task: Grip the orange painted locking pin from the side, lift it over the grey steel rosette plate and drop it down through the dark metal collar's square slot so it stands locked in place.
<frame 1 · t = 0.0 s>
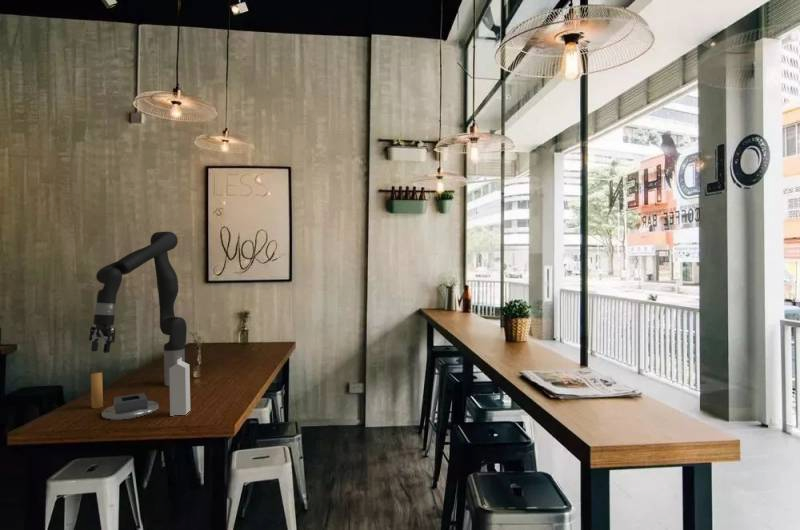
hand: (100, 352, 203), 22 cm above the table, tool pointing down, fingers open, 8 cm apart
rosette: (130, 411, 192), on the table
milk: (180, 414, 189), on the table
locking pin: (97, 407, 199), on the table
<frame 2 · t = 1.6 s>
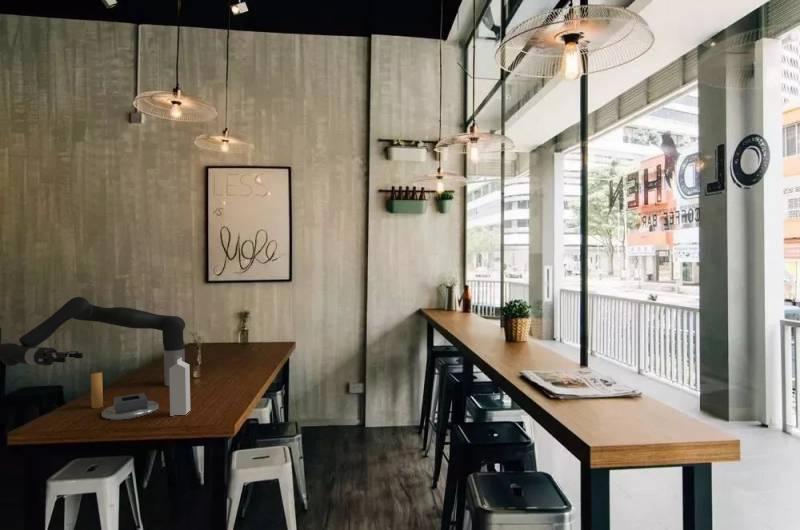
hand: (73, 357, 201), 20 cm above the table, tool horizontal, fingers open, 8 cm apart
nothing on the table moved.
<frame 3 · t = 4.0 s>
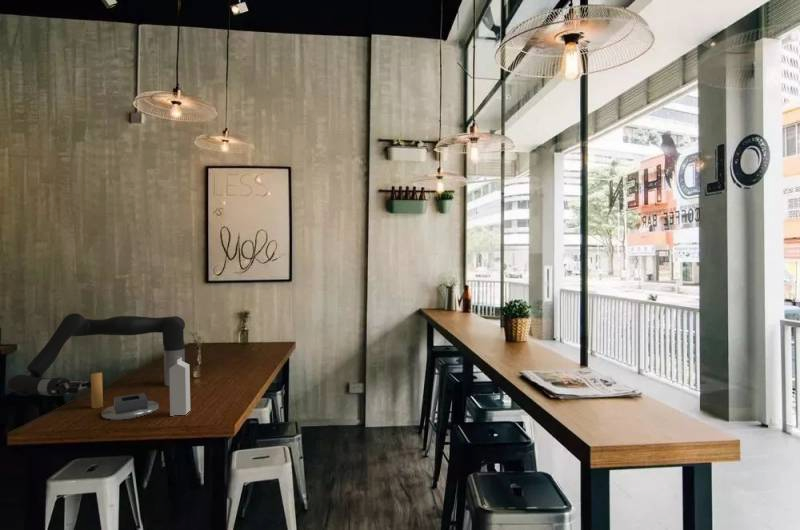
hand: (86, 387, 200), 8 cm above the table, tool horizontal, fingers open, 8 cm apart
nothing on the table moved.
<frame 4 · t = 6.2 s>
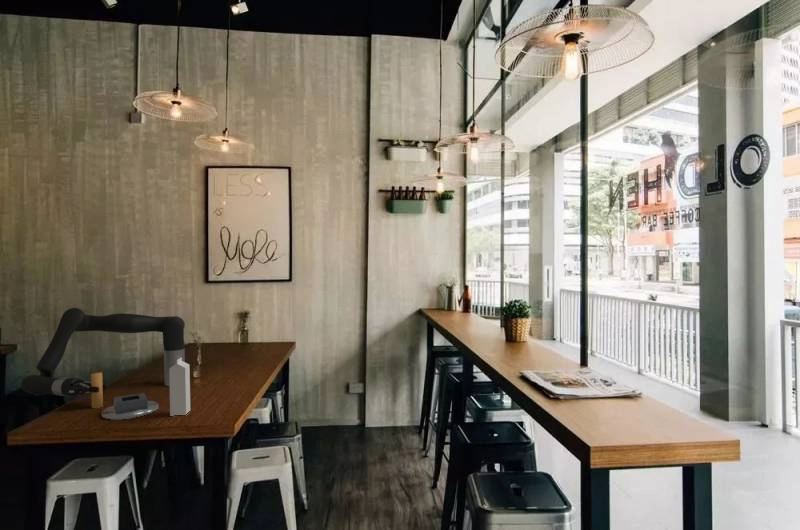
hand: (102, 388, 199), 8 cm above the table, tool horizontal, fingers closed on locking pin, 4 cm apart
locking pin: (97, 407, 199), on the table, touching gripper
everything else where it was.
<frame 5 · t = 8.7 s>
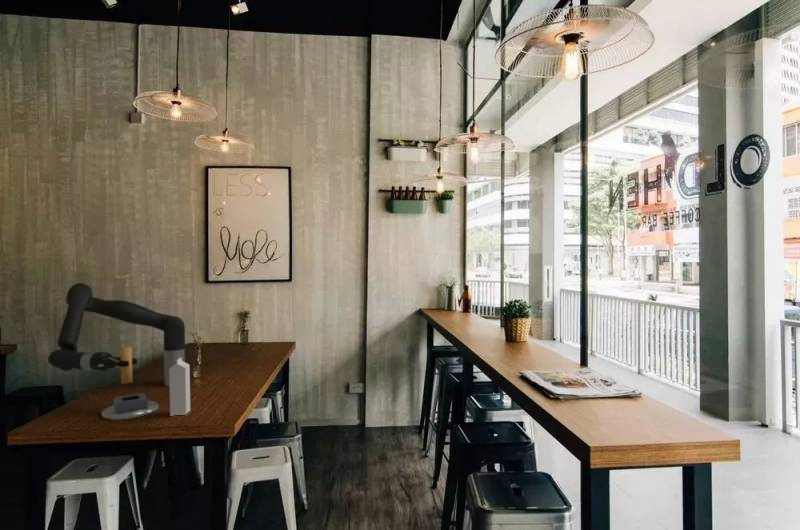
hand: (132, 362, 192), 20 cm above the table, tool horizontal, fingers closed on locking pin, 4 cm apart
locking pin: (126, 382, 192), point 12 cm above the table, touching gripper
everything else where it was.
when the fingers open (11 cm above the table, at t = 11.4 s): locking pin drops 1 cm, resting on rosette.
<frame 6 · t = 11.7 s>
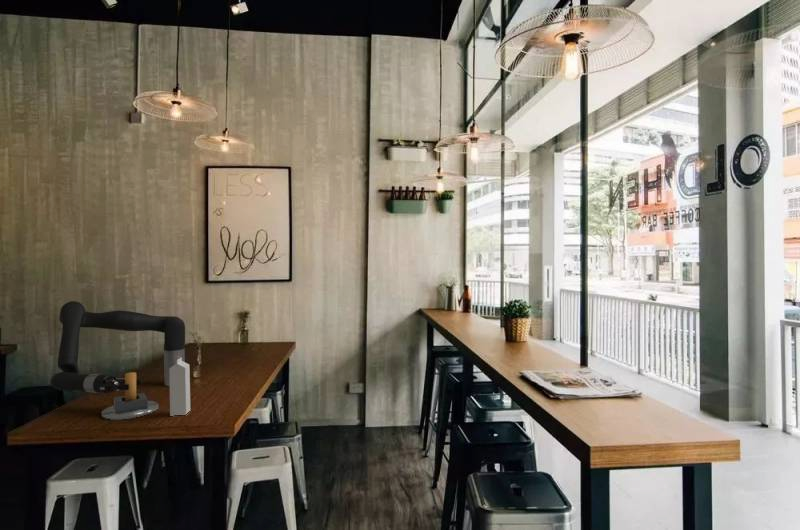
hand: (135, 384, 191), 11 cm above the table, tool horizontal, fingers open, 6 cm apart
locking pin: (130, 407, 192), point 2 cm above the table, touching rosette
everything else where it was.
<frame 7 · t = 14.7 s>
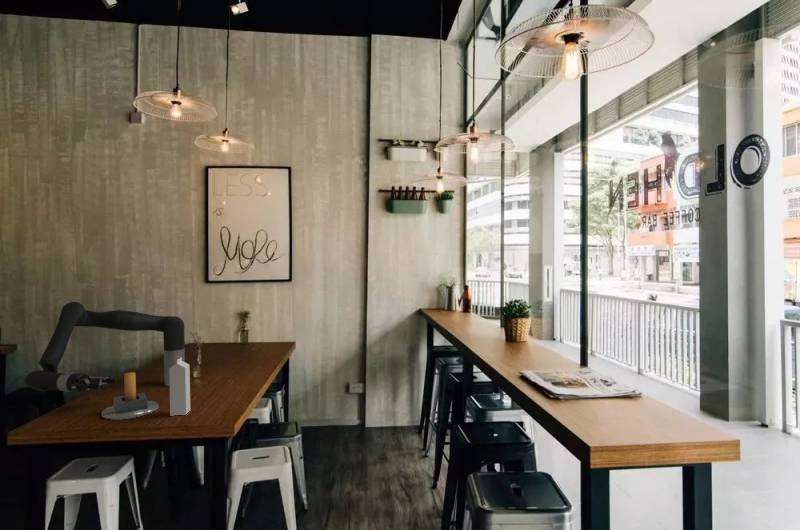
hand: (107, 383, 194), 11 cm above the table, tool horizontal, fingers open, 8 cm apart
nothing on the table moved.
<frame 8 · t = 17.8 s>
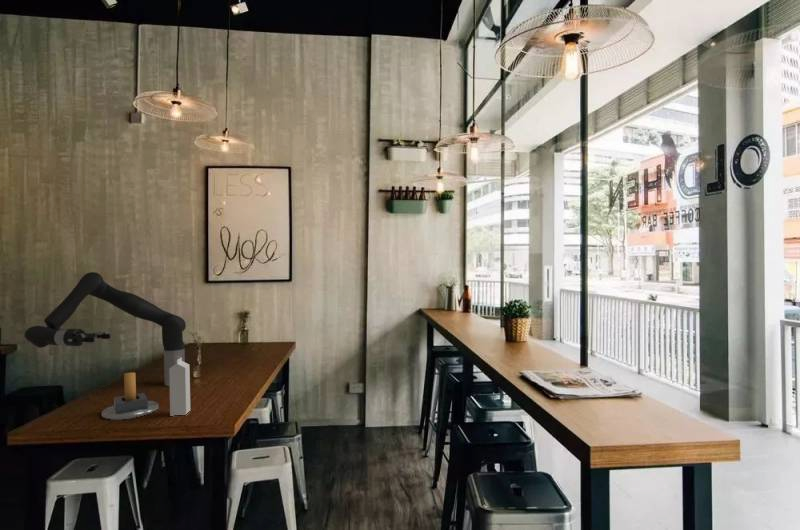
hand: (101, 338, 205), 28 cm above the table, tool horizontal, fingers open, 8 cm apart
nothing on the table moved.
at the end: locking pin 0.1 cm off-centre on the rosette, point 1.5 cm above the rosette's base; locking pin tilted 0°; the gripper is holding nothing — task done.
